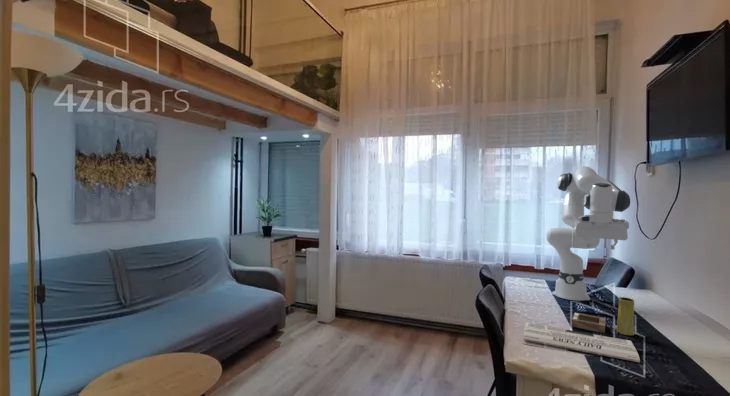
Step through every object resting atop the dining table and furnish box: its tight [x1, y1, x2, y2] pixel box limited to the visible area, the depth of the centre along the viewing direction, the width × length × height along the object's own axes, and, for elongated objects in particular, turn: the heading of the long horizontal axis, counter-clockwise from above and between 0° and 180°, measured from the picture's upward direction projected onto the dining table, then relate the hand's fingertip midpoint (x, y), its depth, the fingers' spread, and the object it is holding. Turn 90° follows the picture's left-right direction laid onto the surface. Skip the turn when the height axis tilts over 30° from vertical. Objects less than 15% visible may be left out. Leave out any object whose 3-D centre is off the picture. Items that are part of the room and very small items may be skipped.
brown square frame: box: [571, 312, 606, 334], centre depth 156 cm, size 12×12×3 cm
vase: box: [616, 296, 635, 336], centre depth 148 cm, size 6×6×14 cm
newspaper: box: [522, 322, 641, 363], centre depth 137 cm, size 37×19×3 cm, turn 62°
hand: (600, 248), depth 163 cm, fingers open, 8 cm apart
